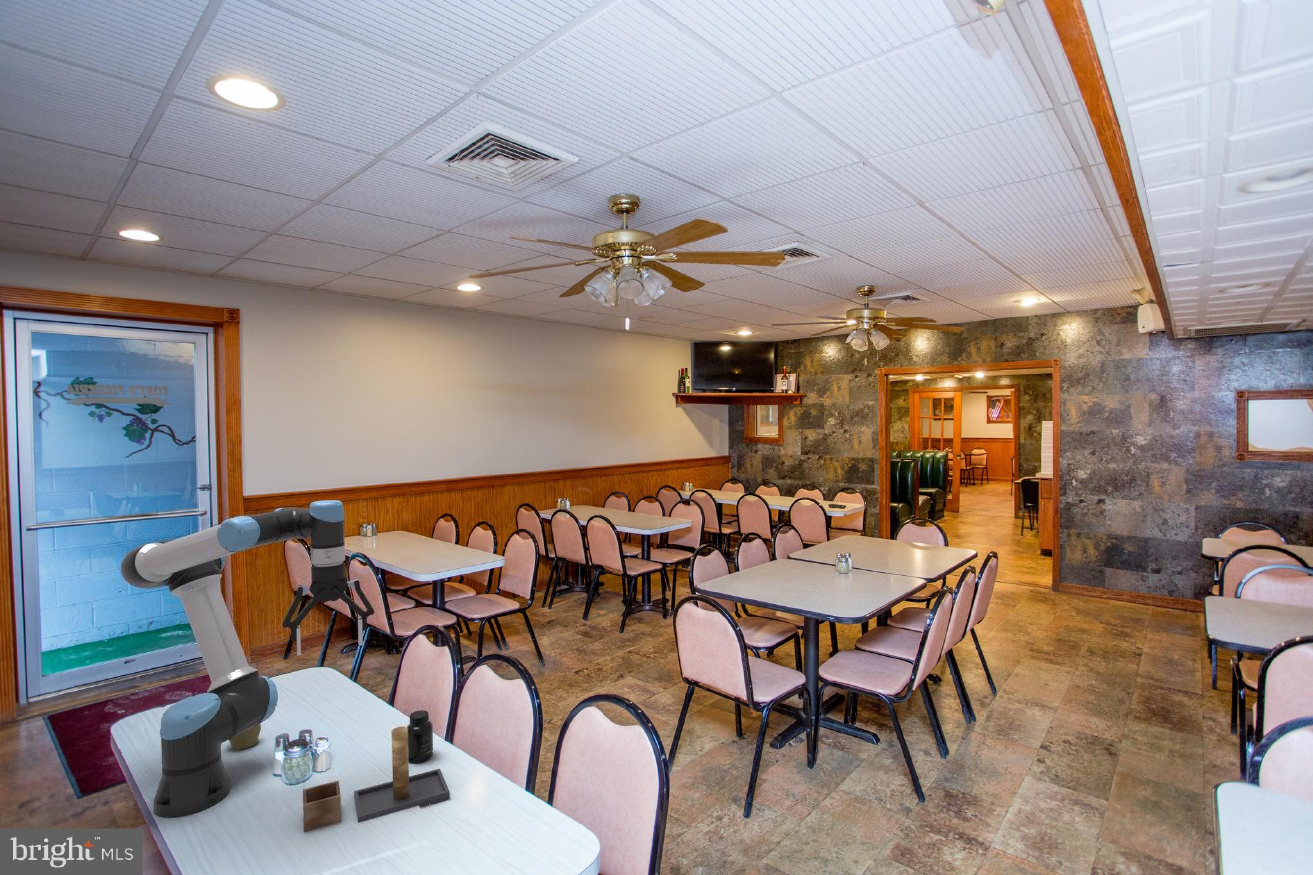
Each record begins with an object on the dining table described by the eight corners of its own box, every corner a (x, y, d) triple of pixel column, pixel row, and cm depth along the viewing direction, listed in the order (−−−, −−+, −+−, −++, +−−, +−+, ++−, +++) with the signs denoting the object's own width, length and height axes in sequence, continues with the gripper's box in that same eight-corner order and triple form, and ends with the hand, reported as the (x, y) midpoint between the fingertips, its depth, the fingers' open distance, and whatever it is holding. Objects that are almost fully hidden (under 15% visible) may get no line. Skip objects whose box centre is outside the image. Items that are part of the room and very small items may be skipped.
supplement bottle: (400, 760, 172) (399, 716, 172) (420, 749, 178) (419, 706, 178) (419, 766, 169) (418, 721, 169) (438, 754, 175) (437, 711, 175)
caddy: (303, 835, 141) (303, 805, 141) (303, 817, 148) (302, 789, 147) (341, 824, 145) (340, 795, 145) (339, 807, 151) (338, 780, 151)
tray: (358, 825, 144) (357, 817, 144) (354, 798, 155) (353, 791, 155) (449, 798, 154) (449, 791, 154) (440, 775, 165) (439, 768, 164)
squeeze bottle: (268, 738, 186) (266, 676, 185) (247, 752, 177) (245, 688, 177) (242, 737, 186) (240, 675, 186) (220, 751, 178) (218, 687, 178)
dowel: (394, 801, 152) (392, 735, 151) (392, 793, 155) (390, 728, 155) (410, 797, 154) (408, 731, 153) (408, 789, 157) (406, 725, 156)
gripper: (268, 572, 149) (271, 663, 150) (384, 560, 161) (386, 644, 162) (270, 566, 156) (272, 653, 156) (381, 555, 168) (383, 635, 168)
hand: (330, 648), depth 159 cm, fingers open, 13 cm apart
